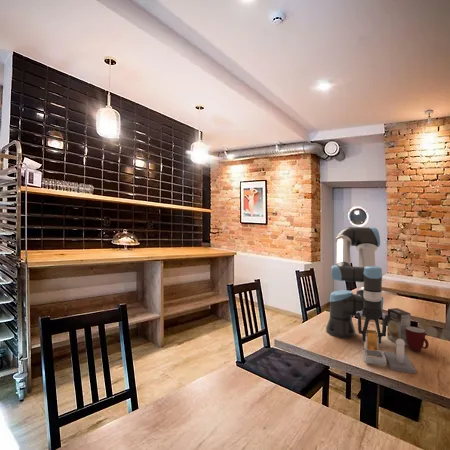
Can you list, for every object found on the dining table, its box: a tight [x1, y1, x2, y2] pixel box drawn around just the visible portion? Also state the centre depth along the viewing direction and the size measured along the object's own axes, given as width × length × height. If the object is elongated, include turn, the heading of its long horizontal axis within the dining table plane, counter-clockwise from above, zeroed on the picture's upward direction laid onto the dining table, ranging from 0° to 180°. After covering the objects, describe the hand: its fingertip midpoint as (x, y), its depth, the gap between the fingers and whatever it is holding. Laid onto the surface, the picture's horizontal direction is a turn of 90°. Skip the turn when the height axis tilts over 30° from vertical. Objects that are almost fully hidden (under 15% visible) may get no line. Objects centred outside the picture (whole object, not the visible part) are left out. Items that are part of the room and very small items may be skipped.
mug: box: [406, 326, 430, 353], centre depth 140 cm, size 10×8×10 cm
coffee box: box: [386, 307, 412, 346], centre depth 152 cm, size 9×6×16 cm
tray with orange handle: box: [362, 329, 387, 367], centre depth 131 cm, size 14×8×10 cm, turn 162°
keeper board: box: [383, 339, 416, 374], centre depth 127 cm, size 15×9×12 cm, turn 162°
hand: (371, 349), depth 136 cm, fingers closed on tray with orange handle, 4 cm apart
